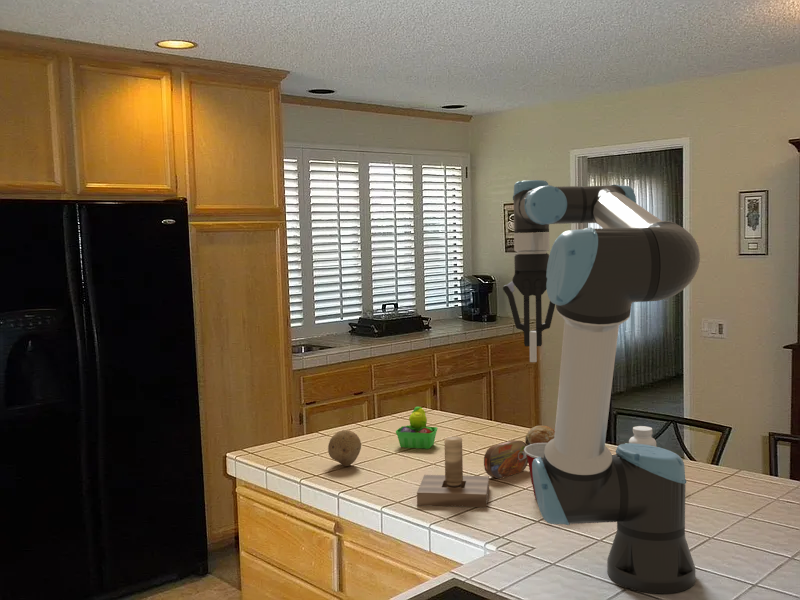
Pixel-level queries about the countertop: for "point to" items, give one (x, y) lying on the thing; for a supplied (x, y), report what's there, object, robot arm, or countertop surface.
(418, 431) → the fruit basket
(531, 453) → the plastic cup
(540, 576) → the countertop surface
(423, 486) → the board
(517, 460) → the tin
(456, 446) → the peg
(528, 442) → the bread roll
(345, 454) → the natural sponge
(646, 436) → the supplement bottle
